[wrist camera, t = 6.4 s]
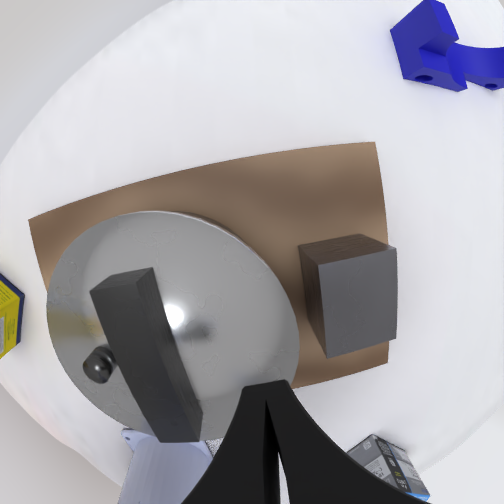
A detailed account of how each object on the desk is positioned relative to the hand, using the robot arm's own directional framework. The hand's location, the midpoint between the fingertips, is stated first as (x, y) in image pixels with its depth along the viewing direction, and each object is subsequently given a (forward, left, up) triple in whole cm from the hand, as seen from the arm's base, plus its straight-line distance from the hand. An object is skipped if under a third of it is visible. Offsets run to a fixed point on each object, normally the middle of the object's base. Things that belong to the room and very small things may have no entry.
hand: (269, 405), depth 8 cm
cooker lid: (0, +5, -5) cm, 7 cm away
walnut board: (0, +3, -10) cm, 11 cm away
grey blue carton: (-23, -10, -11) cm, 27 cm away
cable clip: (+15, -20, -11) cm, 27 cm away
